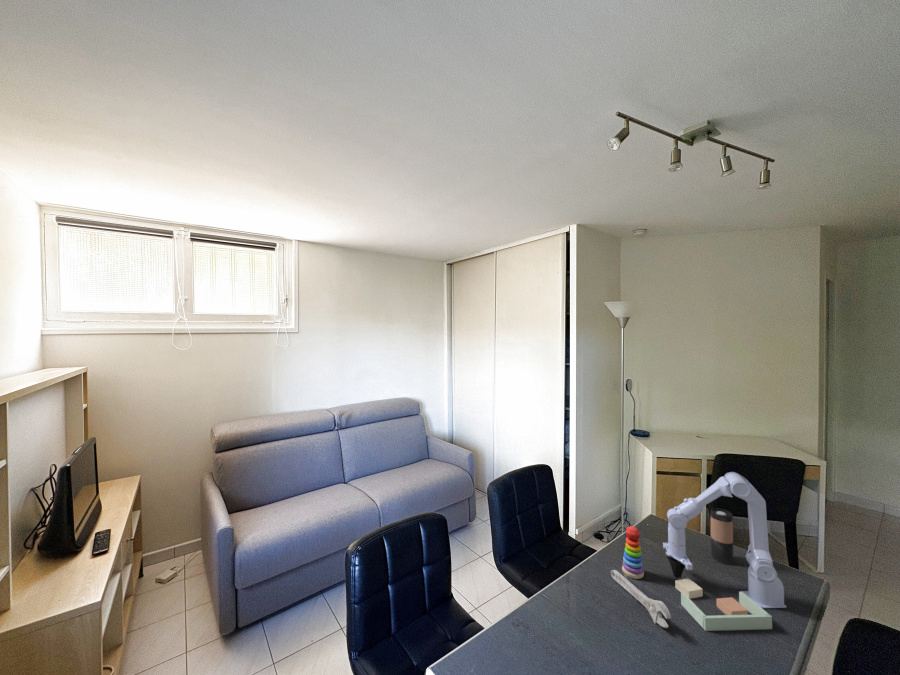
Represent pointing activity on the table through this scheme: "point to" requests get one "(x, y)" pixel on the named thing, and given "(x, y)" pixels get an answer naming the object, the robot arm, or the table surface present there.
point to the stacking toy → (633, 554)
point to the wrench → (644, 600)
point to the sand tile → (689, 588)
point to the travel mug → (722, 535)
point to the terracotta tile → (731, 606)
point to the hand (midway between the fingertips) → (677, 576)
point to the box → (730, 616)
